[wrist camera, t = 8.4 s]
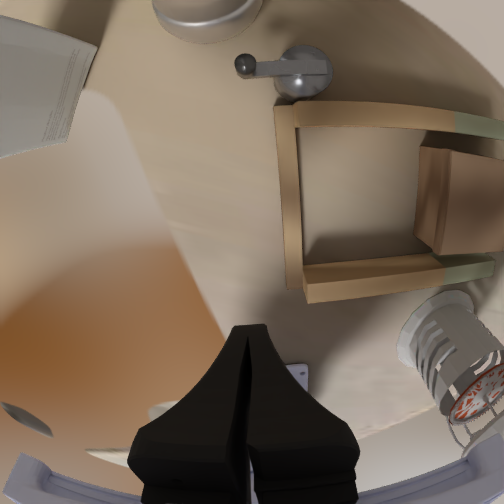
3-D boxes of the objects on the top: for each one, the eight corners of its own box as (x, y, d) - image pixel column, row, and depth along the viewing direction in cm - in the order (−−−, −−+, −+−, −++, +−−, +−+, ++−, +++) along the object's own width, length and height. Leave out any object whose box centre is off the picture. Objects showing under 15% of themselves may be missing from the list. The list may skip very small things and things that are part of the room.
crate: (473, 233, 21) (503, 252, 17) (410, 234, 22) (439, 256, 17) (481, 154, 19) (516, 162, 15) (417, 144, 19) (450, 149, 15)
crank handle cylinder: (320, 101, 18) (347, 89, 12) (242, 106, 18) (237, 93, 12) (315, 61, 17) (340, 34, 11) (238, 65, 17) (231, 36, 11)
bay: (474, 262, 22) (492, 276, 19) (286, 284, 23) (290, 305, 20) (484, 120, 17) (506, 122, 15) (273, 107, 18) (276, 102, 15)
